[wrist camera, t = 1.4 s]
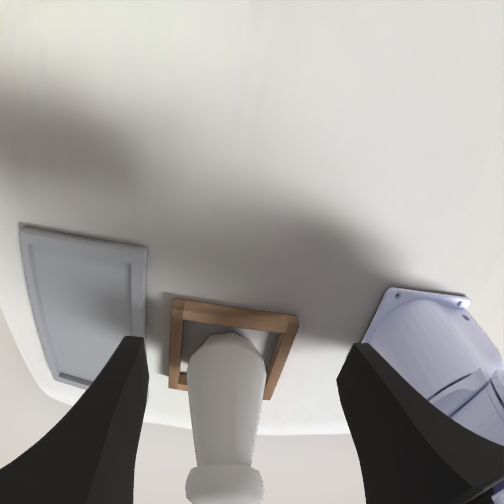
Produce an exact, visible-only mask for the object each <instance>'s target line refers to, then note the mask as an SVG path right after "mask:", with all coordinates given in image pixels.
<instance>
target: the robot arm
mask: <svg viewBox="0 0 504 504" xmlns="http://www.w3.org/2000/svg"><path fill="white" fill-rule="evenodd" d="M398 293H399V294H398ZM396 294H398V295H397V296H395V295H396ZM469 305H470V299H469V298H468V297H461V296H454V295H446V294H439V293H431V292H424V291H416V290H409V289H402V288H395V287H391V288H389V289H388V290H387V291H386V292H385V294H384V297H383V299H382V301H381V303H380V305H379V307H378V310H377V312H376V314H375V316H374V318H373V320H372V322H371V324H370V326H369V328H368V330H367V332H366V334H365V336H364V338H363V340H362V342H361V343H354V344H353V346H352V348H351V350H350V352H349V354H348V356H347V359H346V361H345V363H344V365H343V367H342V369H341V371H340V373H339V375H338V377H337V379H336V380H337V386H338V392H339V397H340V401H341V405H342V408H343V411H344V414H345V417H346V420H347V423H348V426H349V429H350V432H351V435H352V438H353V441H354V444H355V447H356V450H357V453H358V457H359V460H360V466H361V471H362V476H363V482H364V489H365V497H366V504H504V370H503V363H502V358H501V355H500V353H499V351H498V349H497V347H496V346H495V345H494V343H493V342H492V341H491V340H490V338H489V337H488V336H487V334H486V333H485V332H484V331H483V329H482V328H481V327H480V326H479V324H478V323H477V322H476V321H475V319H474V318H473V317H472V316H471V315H470V313H469V312H468V311H467V308H468V306H469ZM148 383H149V372H148V365H147V358H146V351H145V343H144V337H136V336H127V335H126V336H125V337H123V339H122V340H121V342H120V344H119V345H118V347H117V348H116V350H115V351H114V353H113V354H112V356H111V357H110V359H109V360H108V362H107V363H106V365H105V366H104V368H103V369H102V370H101V372H100V373H99V374H98V376H97V377H96V378H95V380H94V381H93V383H92V384H91V385H90V386H89V388H88V389H87V390H86V391H85V393H84V394H83V395H82V396H81V398H80V399H79V400H78V401H77V402H76V404H75V405H74V406H73V407H72V408H71V409H70V410H69V412H68V413H67V414H66V415H65V416H64V417H63V418H62V419H61V420H60V421H59V422H58V423H57V424H56V425H55V426H54V427H53V428H52V429H51V430H50V431H49V432H48V433H47V434H46V435H45V436H44V437H42V438H41V439H40V440H39V441H38V442H37V443H36V444H34V445H33V446H32V447H31V448H29V449H28V450H27V451H25V452H24V453H23V454H22V455H20V456H19V457H18V458H16V459H15V460H14V461H12V462H11V463H9V464H8V465H6V466H4V467H3V468H1V469H0V504H133V488H134V468H135V460H136V453H137V448H138V443H139V437H140V432H141V427H142V422H143V417H144V413H145V408H146V403H147V393H148Z"/></svg>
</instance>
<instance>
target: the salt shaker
mask: <svg viewBox="0 0 504 504" xmlns="http://www.w3.org/2000/svg"><path fill="white" fill-rule="evenodd" d="M186 373H187V384H188V394H189V404H190V413H191V422H192V430H193V438H194V446H195V452H196V460H197V467H195V468H193V469H191V471H190V473H189V475H188V477H187V481H186V487H185V490H186V498H187V499H188V500H189V501H190V502H192V504H259V503H260V502H261V501H263V495H264V485H263V480H262V477H261V475H260V473H259V471H257V470H255V469H253V468H251V462H252V457H253V452H254V446H255V441H256V435H257V429H258V423H259V418H260V412H261V406H262V400H263V394H264V388H265V381H266V370H265V365H264V361H263V358H262V356H261V355H260V354H259V352H258V351H257V349H256V348H255V347H254V345H253V344H252V343H251V342H249V341H248V340H246V339H244V338H243V337H241V336H240V335H238V334H237V333H235V332H231V333H223V334H216V335H210V337H209V338H208V339H207V340H206V342H205V343H204V344H203V345H202V346H201V347H200V348H199V349H198V350H197V351H196V352H195V353H194V354H193V355H192V356H191V358H190V361H189V364H188V368H187V371H186Z"/></svg>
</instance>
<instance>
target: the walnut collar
mask: <svg viewBox="0 0 504 504" xmlns="http://www.w3.org/2000/svg"><path fill="white" fill-rule="evenodd" d="M184 320H190V321H196V322H202V323H209V324H216V325H222V326H230V327H237V328H244V329H252V330H260V331H269V332H278V333H280V334H279V337H278V340H277V343H276V346H275V349H274V352H273V355H272V358H271V361H270V363H269V366H268V369H267V372H266V381H265V388H264V394H263V400H270V399H271V397H272V394H273V392H274V389H275V387H276V385H277V382H278V380H279V377H280V375H281V372H282V370H283V367H284V364H285V362H286V359H287V357H288V354H289V352H290V349H291V346H292V344H293V341H294V338H295V336H296V333H297V330H298V328H299V323H298V319H297V315H288V314H280V313H272V312H264V311H257V310H249V309H242V308H235V307H228V306H221V305H215V304H208V303H202V302H196V301H189V300H183V299H177V298H175V299H174V302H173V306H172V312H171V330H170V352H169V387H168V388H172V389H178V390H184V391H188V384H187V375H186V374H180V364H181V350H182V337H183V325H184Z"/></svg>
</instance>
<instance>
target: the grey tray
mask: <svg viewBox="0 0 504 504" xmlns="http://www.w3.org/2000/svg"><path fill="white" fill-rule="evenodd" d="M18 233H19V241H20V248H21V255H22V261H23V267H24V272H25V278H26V283H27V288H28V292H29V297H30V301H31V306H32V310H33V314H34V318H35V322H36V325H37V329H38V333H39V336H40V340H41V343H42V346H43V349H44V353H45V356H46V359H47V362H48V365H49V368H50V371H51V373H52V376H53V379H54V380H56V381H59V382H62V383H66V384H69V385H72V386H75V387H79V388H82V389H86V390H87V389H88V388H89V386H90V385H91V384H92V383H93V381H94V380H95V378H96V377H97V376H98V374H99V373H100V372H101V370H102V369H103V368H104V366H105V365H106V363H107V362H108V360H109V359H110V357H111V356H112V354H113V353H114V351H115V350H116V348H117V347H118V345H119V344H120V342H121V340H122V339H123V337H125V336H126V335H127V336H136V337H144V343H145V351H146V272H147V247H141V246H135V245H129V244H123V243H117V242H111V241H105V240H99V239H94V238H88V237H82V236H76V235H70V234H65V233H59V232H53V231H48V230H42V229H37V228H31V227H24V228H23V229H22V230H20V231H19V232H18ZM146 358H147V353H146ZM148 397H149V394H148V393H147V401H148ZM146 404H147V403H146Z"/></svg>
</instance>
